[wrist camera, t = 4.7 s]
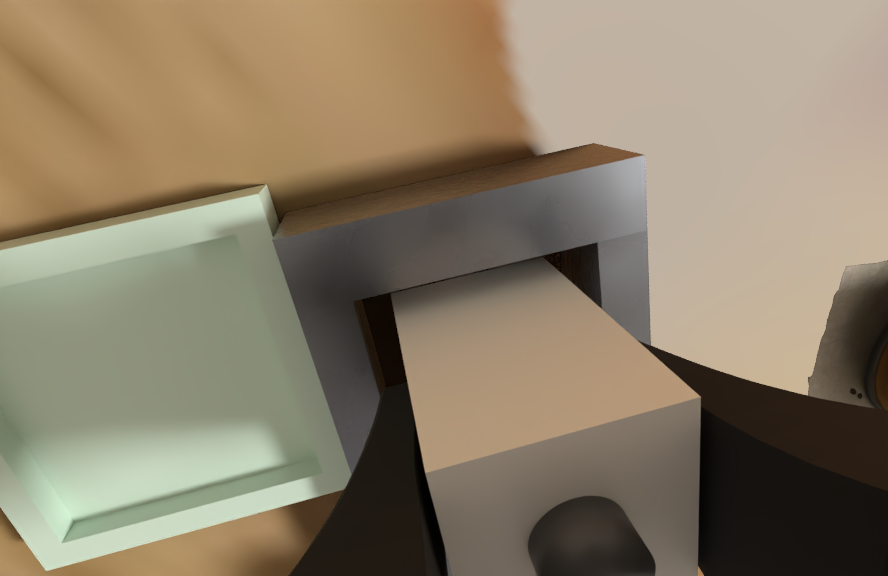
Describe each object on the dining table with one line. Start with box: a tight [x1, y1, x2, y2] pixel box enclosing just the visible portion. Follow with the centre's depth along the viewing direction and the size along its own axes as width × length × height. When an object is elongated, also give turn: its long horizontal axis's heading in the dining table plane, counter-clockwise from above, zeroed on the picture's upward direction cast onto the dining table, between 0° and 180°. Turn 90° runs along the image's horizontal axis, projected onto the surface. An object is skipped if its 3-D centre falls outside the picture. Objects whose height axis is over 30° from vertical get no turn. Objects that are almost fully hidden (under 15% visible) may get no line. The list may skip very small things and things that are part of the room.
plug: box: [391, 257, 701, 576], centre depth 10 cm, size 4×4×7 cm
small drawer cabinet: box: [272, 143, 651, 576], centre depth 15 cm, size 18×8×3 cm, turn 11°
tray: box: [0, 184, 351, 571], centre depth 13 cm, size 8×8×1 cm
